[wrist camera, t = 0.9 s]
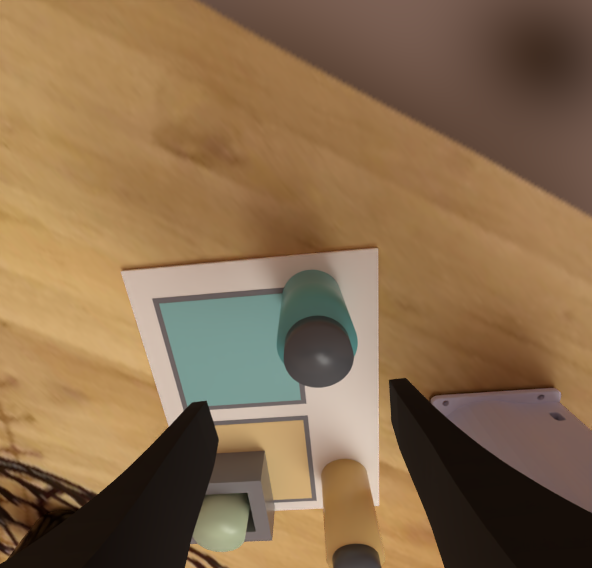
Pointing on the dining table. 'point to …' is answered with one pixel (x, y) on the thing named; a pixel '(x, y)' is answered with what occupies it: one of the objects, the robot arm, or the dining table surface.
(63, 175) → the dining table surface
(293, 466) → the picture card
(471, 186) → the dining table surface
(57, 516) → the supplement bottle
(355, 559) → the tan bottle
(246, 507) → the button
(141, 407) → the dining table surface
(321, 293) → the teal capped bottle
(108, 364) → the dining table surface
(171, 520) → the robot arm
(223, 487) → the button collar
